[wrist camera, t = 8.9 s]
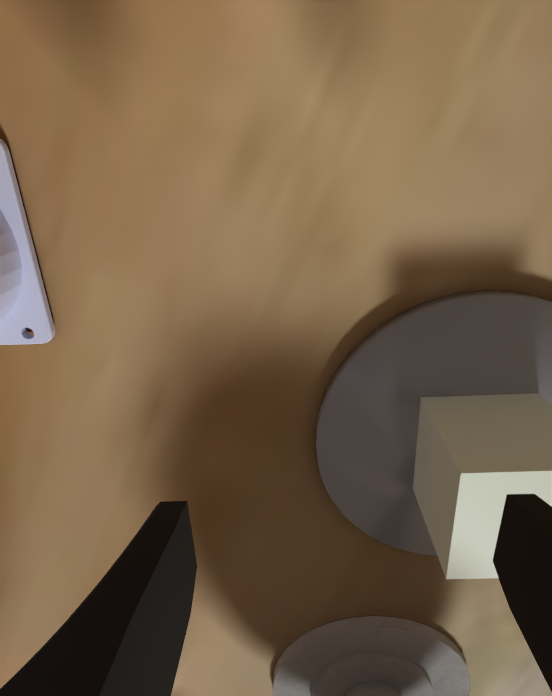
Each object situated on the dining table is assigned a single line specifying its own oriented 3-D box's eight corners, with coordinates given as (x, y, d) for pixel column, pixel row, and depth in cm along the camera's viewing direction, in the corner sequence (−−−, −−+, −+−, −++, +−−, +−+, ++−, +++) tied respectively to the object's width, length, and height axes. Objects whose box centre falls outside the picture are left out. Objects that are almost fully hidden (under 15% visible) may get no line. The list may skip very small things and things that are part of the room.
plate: (316, 546, 25) (317, 558, 24) (314, 296, 19) (315, 302, 18) (583, 542, 24) (592, 554, 24) (663, 284, 19) (679, 289, 18)
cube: (412, 488, 22) (446, 578, 17) (420, 397, 20) (460, 473, 15) (519, 485, 22) (581, 576, 17) (538, 393, 20) (614, 468, 15)
